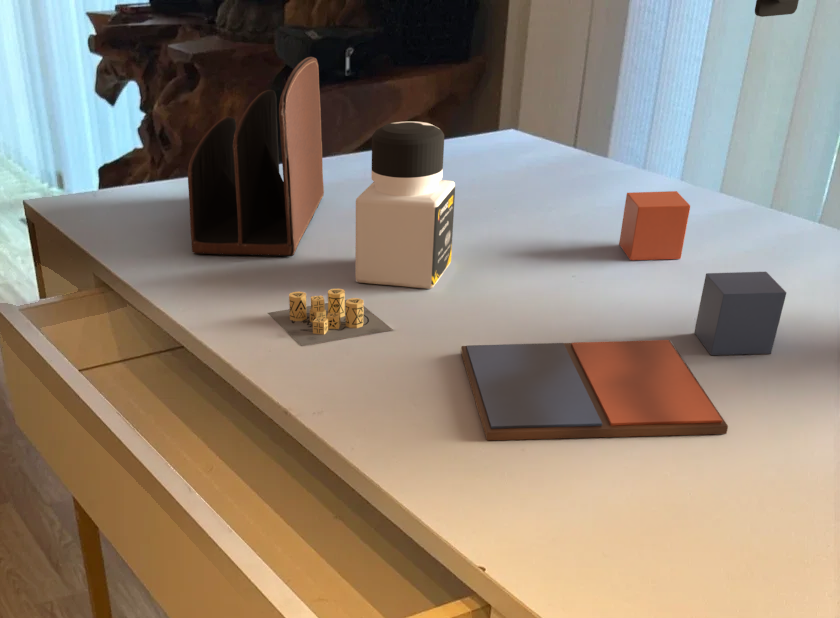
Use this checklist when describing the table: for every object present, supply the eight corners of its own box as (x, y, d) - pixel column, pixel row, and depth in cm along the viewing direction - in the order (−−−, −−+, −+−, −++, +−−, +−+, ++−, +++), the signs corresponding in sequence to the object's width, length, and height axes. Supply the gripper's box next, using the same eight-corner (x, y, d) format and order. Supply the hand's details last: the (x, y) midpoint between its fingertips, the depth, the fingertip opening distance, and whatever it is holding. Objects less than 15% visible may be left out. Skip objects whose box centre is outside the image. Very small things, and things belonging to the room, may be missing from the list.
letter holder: (324, 197, 119) (322, 45, 110) (294, 258, 104) (289, 88, 95) (233, 196, 121) (223, 45, 112) (190, 255, 106) (176, 87, 97)
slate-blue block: (752, 331, 88) (766, 271, 85) (771, 353, 85) (786, 292, 82) (693, 332, 88) (705, 273, 85) (710, 355, 85) (723, 294, 82)
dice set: (286, 316, 93) (285, 293, 92) (343, 306, 95) (343, 283, 93) (308, 337, 90) (308, 313, 88) (367, 327, 91) (367, 303, 90)
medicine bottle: (433, 290, 97) (440, 138, 89) (354, 283, 99) (354, 133, 91) (451, 264, 102) (460, 118, 94) (376, 257, 104) (378, 114, 96)
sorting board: (668, 347, 86) (670, 337, 86) (726, 434, 75) (729, 423, 74) (460, 353, 86) (461, 342, 86) (486, 440, 75) (487, 429, 74)
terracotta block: (667, 243, 105) (677, 190, 102) (680, 259, 101) (690, 205, 98) (618, 244, 105) (626, 192, 102) (630, 260, 101) (638, 207, 98)
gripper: (931, -307, 69) (852, 18, 80) (764, -289, 82) (716, -12, 93) (826, -304, 67) (760, 26, 78) (673, -287, 80) (635, -5, 91)
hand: (736, 5), depth 85 cm, fingers open, 9 cm apart
